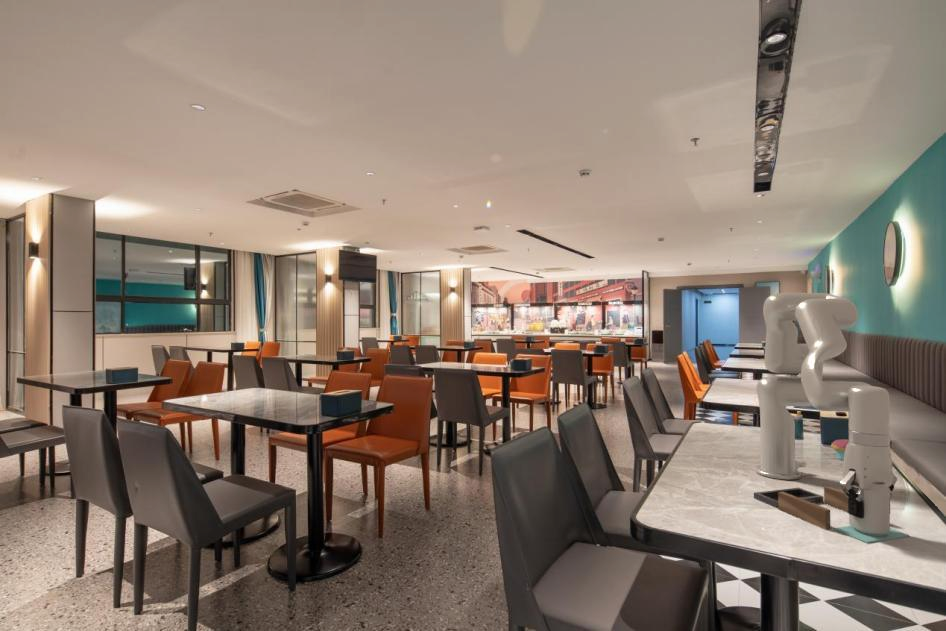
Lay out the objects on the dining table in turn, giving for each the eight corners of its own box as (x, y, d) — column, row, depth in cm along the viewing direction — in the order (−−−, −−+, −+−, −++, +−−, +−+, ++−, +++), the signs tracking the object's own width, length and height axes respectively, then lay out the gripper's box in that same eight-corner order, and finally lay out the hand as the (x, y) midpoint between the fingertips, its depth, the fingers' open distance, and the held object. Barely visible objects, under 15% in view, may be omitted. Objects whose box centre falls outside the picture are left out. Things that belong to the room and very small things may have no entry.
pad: (875, 523, 121) (875, 522, 121) (909, 536, 113) (909, 535, 113) (834, 529, 117) (834, 528, 117) (866, 543, 110) (866, 541, 110)
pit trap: (798, 492, 142) (798, 487, 142) (823, 501, 135) (823, 496, 135) (753, 498, 138) (753, 492, 138) (776, 507, 131) (776, 502, 131)
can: (893, 540, 111) (892, 487, 111) (851, 532, 114) (850, 481, 115) (886, 528, 117) (886, 477, 117) (847, 521, 121) (847, 472, 121)
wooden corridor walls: (828, 503, 134) (828, 486, 134) (879, 521, 122) (878, 503, 122) (778, 509, 130) (778, 492, 130) (825, 529, 117) (825, 510, 117)
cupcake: (859, 458, 177) (859, 425, 178) (862, 464, 170) (862, 429, 170) (830, 455, 182) (830, 422, 182) (832, 460, 175) (831, 426, 175)
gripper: (879, 433, 122) (879, 504, 122) (824, 437, 117) (825, 512, 117) (913, 440, 114) (914, 516, 114) (856, 445, 110) (857, 524, 110)
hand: (869, 513), depth 116 cm, fingers closed on can, 7 cm apart
